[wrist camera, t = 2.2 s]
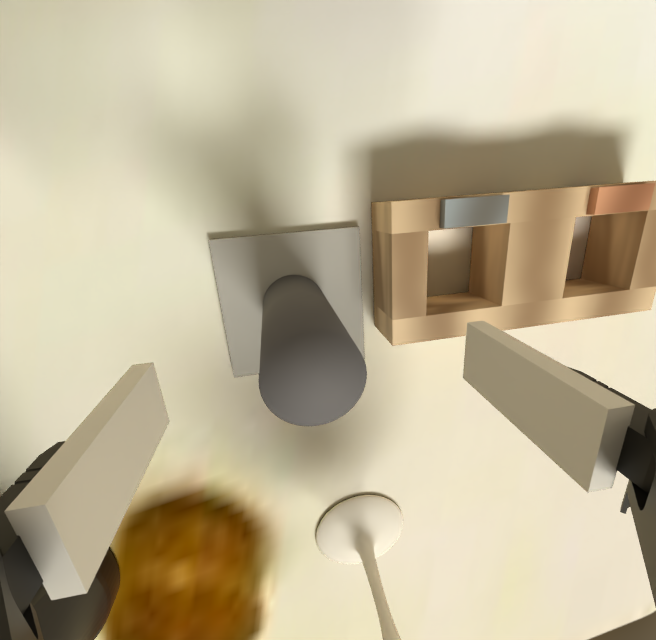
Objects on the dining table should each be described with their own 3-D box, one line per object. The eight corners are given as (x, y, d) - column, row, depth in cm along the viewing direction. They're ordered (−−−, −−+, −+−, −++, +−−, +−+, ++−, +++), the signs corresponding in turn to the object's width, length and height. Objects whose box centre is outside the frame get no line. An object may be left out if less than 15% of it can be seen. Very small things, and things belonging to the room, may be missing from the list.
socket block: (374, 325, 26) (395, 349, 22) (371, 202, 23) (395, 201, 19) (600, 296, 29) (659, 312, 24) (624, 182, 26) (695, 177, 21)
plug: (267, 337, 24) (266, 434, 14) (258, 278, 23) (250, 337, 13) (326, 329, 25) (368, 417, 15) (322, 271, 23) (364, 322, 13)
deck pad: (234, 374, 25) (234, 377, 25) (209, 239, 22) (208, 240, 22) (363, 356, 27) (364, 358, 26) (357, 226, 23) (359, 226, 23)
